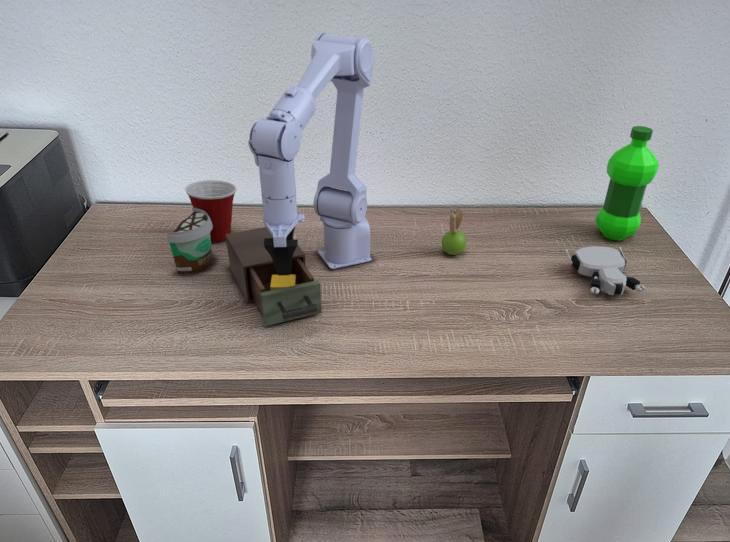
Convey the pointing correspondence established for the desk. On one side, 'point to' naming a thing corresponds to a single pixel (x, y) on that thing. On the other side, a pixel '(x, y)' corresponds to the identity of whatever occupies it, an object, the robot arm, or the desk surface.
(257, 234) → the cabinet
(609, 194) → the plastic bottle
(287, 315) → the drawer
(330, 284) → the desk surface
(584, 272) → the robot toy
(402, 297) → the desk surface
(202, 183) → the plastic cup
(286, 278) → the block
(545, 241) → the desk surface
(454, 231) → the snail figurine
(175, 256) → the food container
